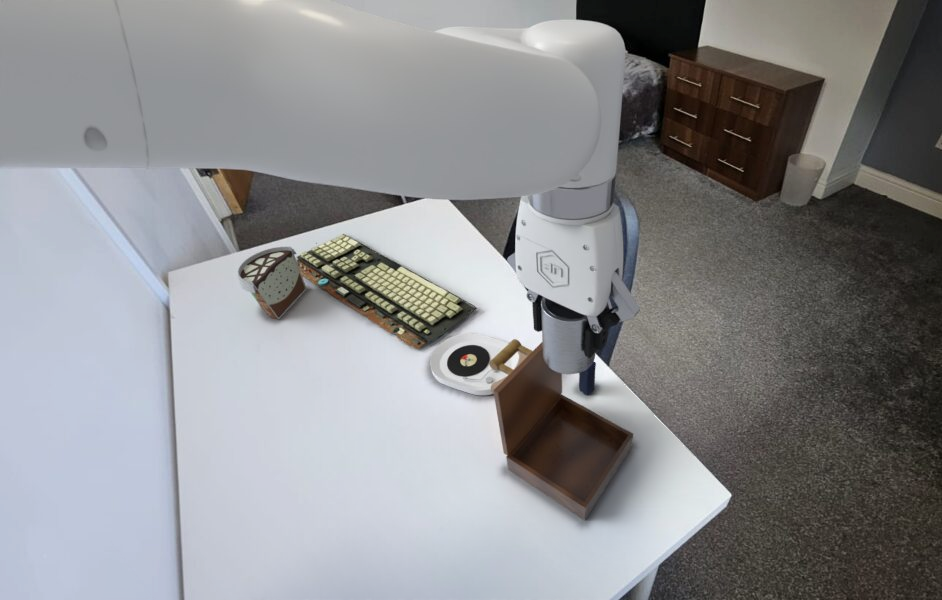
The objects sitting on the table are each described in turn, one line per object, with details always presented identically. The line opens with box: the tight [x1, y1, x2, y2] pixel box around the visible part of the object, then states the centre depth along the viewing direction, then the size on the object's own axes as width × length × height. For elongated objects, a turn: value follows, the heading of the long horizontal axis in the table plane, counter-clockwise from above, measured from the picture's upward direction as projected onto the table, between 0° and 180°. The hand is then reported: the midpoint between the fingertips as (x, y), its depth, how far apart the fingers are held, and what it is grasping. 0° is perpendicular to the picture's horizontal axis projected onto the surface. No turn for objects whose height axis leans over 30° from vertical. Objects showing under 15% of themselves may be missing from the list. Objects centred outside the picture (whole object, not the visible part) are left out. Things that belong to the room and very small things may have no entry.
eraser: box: [578, 361, 597, 396], centre depth 77 cm, size 2×2×7 cm
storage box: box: [505, 393, 634, 521], centre depth 68 cm, size 13×13×4 cm
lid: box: [489, 338, 563, 456], centre depth 66 cm, size 14×13×5 cm
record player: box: [429, 332, 527, 396], centre depth 81 cm, size 12×3×20 cm
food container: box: [237, 246, 308, 321], centre depth 91 cm, size 12×6×10 cm, turn 172°
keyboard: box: [296, 233, 478, 350], centre depth 97 cm, size 45×15×2 cm, turn 54°
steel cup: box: [541, 297, 596, 375], centre depth 51 cm, size 6×6×8 cm
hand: (569, 335), depth 52 cm, fingers closed on steel cup, 6 cm apart
